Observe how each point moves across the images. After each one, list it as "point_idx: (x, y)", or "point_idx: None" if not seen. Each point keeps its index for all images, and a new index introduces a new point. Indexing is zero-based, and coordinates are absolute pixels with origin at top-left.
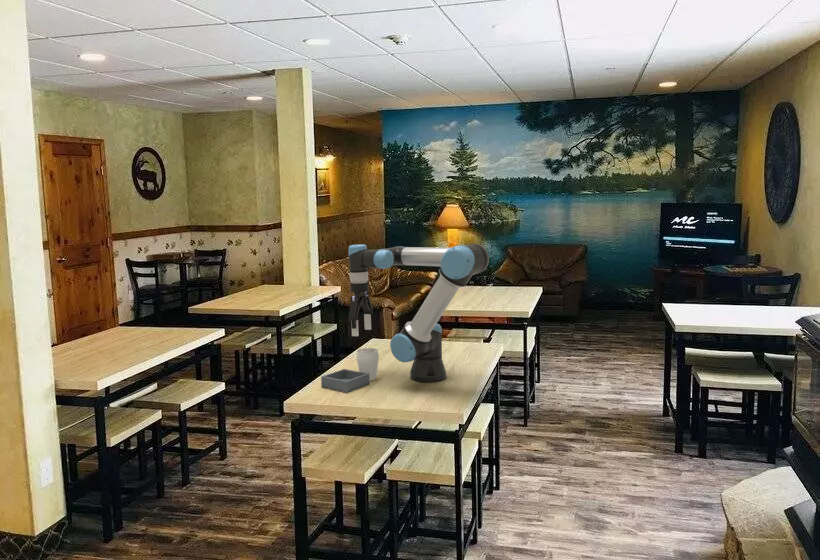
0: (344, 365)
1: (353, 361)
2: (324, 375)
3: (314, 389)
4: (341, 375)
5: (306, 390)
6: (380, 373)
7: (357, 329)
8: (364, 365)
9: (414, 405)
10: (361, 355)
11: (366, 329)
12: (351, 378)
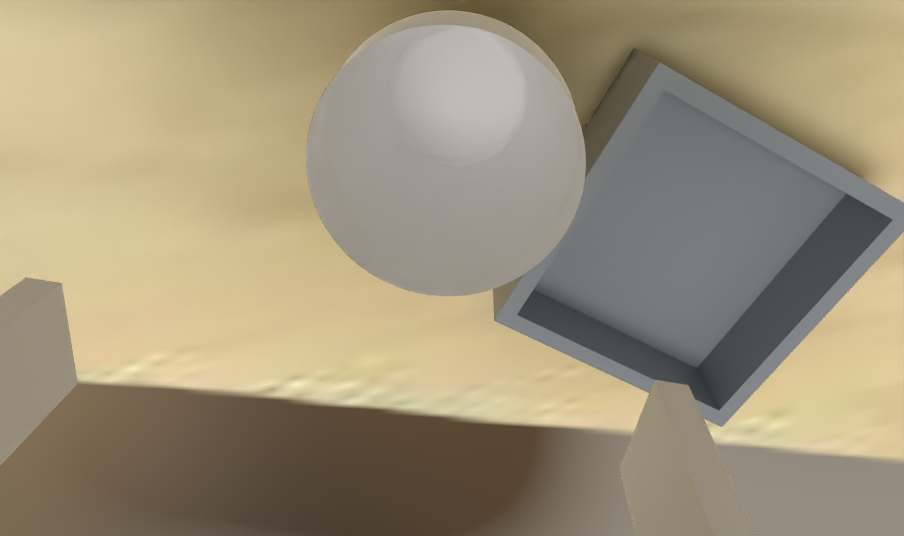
0: (132, 356)
1: None
2: None
3: None
4: (544, 308)
5: (754, 440)
6: (278, 23)
7: (729, 489)
8: (560, 145)
9: None
10: (566, 212)
11: (70, 357)
12: None
